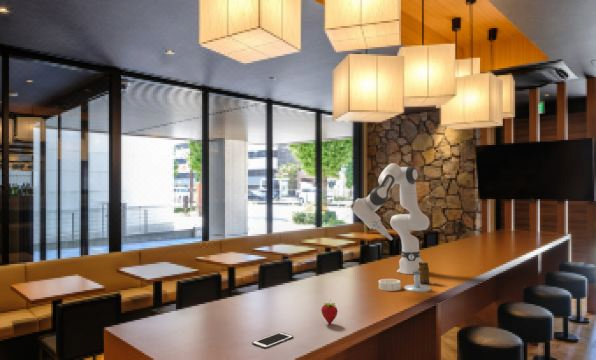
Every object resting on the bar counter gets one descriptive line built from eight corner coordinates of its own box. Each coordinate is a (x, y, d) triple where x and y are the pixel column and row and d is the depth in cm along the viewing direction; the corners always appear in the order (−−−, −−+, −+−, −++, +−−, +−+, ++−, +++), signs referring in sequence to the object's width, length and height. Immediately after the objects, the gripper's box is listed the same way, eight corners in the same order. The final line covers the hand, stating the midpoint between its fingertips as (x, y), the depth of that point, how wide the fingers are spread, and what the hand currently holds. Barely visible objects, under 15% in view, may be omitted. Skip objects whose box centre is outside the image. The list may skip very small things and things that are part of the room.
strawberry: (328, 320, 170) (327, 296, 170) (341, 324, 164) (340, 299, 164) (318, 323, 166) (317, 299, 166) (331, 327, 160) (330, 302, 160)
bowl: (378, 285, 231) (378, 278, 231) (400, 286, 228) (400, 279, 228) (378, 290, 219) (378, 283, 219) (400, 291, 217) (400, 283, 217)
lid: (403, 286, 229) (403, 268, 229) (429, 286, 226) (428, 268, 226) (404, 291, 215) (404, 273, 216) (432, 292, 212) (431, 273, 213)
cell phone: (251, 344, 145) (250, 342, 145) (280, 334, 155) (280, 331, 155) (265, 350, 139) (264, 347, 139) (294, 338, 150) (294, 335, 150)
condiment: (422, 281, 239) (421, 261, 240) (435, 283, 233) (434, 262, 233) (415, 283, 235) (414, 262, 235) (428, 285, 228) (427, 264, 229)
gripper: (377, 218, 220) (396, 236, 217) (377, 217, 240) (394, 234, 237) (369, 226, 220) (388, 244, 218) (369, 225, 240) (386, 241, 238)
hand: (391, 239), depth 228 cm, fingers open, 8 cm apart
